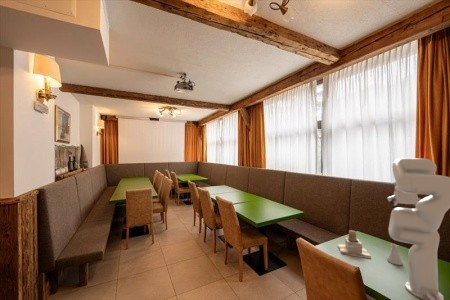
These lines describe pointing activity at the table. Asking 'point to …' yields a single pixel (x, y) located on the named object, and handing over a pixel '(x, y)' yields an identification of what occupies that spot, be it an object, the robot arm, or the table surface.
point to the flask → (394, 256)
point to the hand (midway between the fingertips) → (405, 212)
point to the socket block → (353, 249)
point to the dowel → (352, 236)
